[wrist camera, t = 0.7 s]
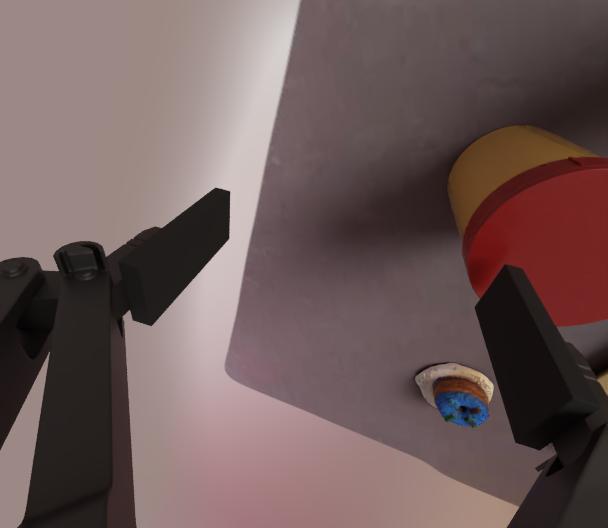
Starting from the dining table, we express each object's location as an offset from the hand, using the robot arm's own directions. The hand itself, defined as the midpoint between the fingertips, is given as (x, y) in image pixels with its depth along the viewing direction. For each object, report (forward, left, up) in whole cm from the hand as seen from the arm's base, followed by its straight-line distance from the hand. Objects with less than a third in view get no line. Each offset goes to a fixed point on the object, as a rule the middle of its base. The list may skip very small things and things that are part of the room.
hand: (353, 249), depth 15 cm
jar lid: (+2, +9, -2) cm, 9 cm away
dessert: (+25, +6, -12) cm, 28 cm away
